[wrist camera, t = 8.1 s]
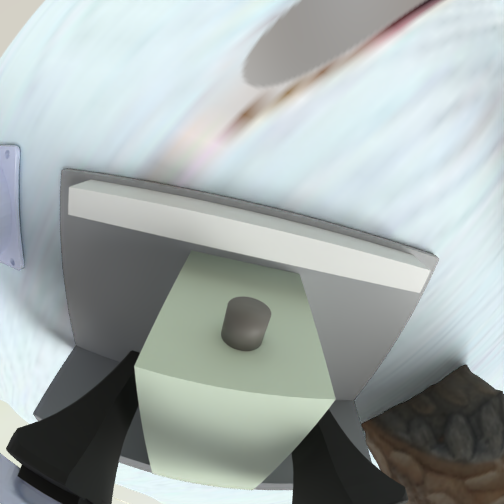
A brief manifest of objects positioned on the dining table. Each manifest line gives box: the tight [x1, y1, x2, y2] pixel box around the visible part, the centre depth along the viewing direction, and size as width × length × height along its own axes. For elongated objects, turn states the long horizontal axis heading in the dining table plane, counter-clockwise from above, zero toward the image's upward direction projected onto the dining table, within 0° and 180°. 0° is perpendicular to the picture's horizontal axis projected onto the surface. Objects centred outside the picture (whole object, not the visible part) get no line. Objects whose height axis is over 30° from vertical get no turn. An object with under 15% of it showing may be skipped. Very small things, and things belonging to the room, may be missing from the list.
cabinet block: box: [134, 251, 336, 490], centre depth 10 cm, size 5×10×7 cm, turn 167°
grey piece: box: [33, 169, 439, 490], centre depth 11 cm, size 20×13×7 cm, turn 77°
